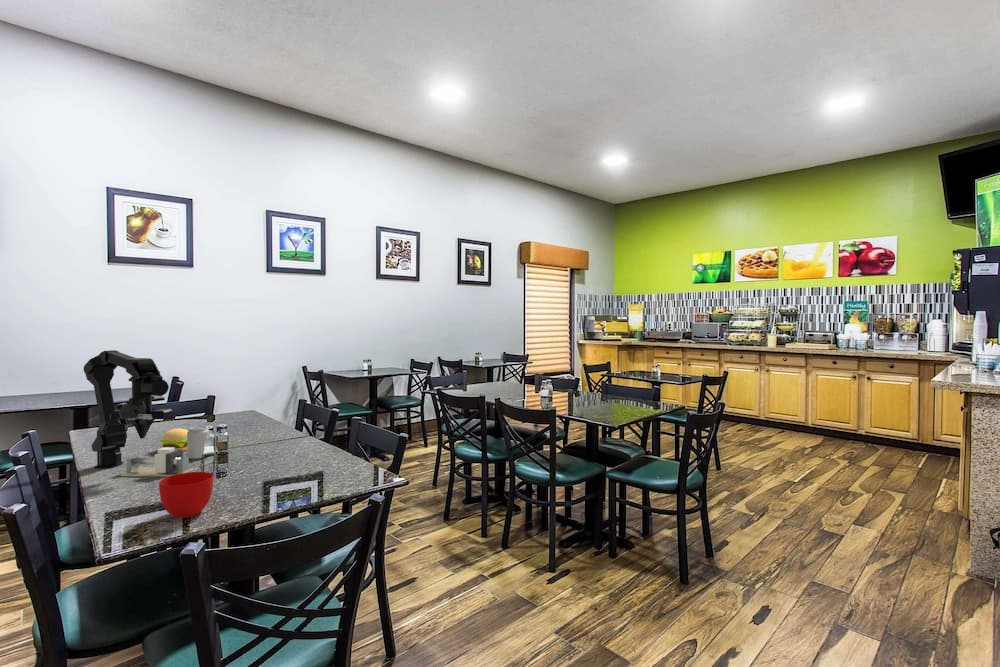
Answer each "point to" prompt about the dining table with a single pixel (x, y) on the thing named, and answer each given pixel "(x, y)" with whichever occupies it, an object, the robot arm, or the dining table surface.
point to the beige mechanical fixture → (150, 471)
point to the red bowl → (186, 493)
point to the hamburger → (175, 439)
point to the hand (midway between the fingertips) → (142, 438)
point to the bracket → (162, 459)
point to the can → (196, 441)
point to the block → (169, 460)
